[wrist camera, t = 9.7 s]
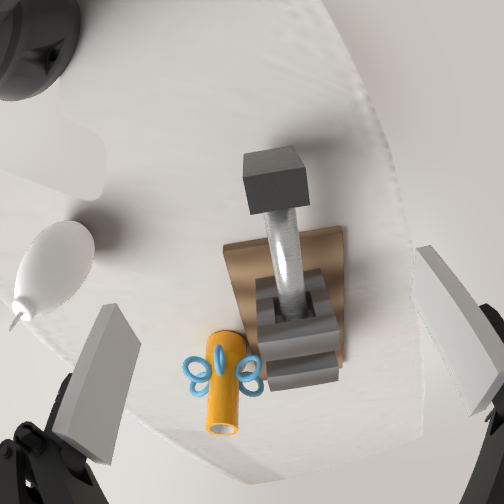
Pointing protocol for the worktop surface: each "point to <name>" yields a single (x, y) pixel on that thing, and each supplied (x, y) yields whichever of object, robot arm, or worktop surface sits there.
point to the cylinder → (224, 380)
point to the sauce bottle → (52, 269)
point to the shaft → (280, 219)
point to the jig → (298, 331)
